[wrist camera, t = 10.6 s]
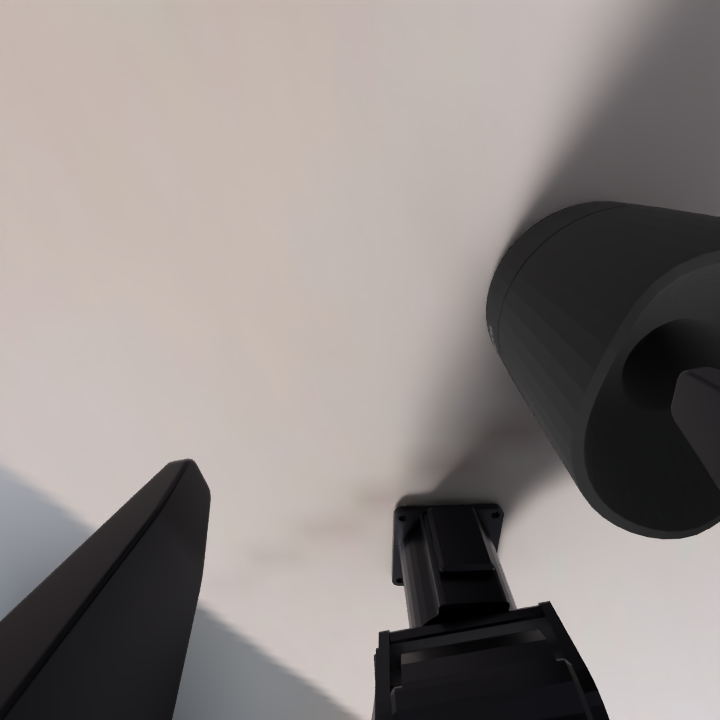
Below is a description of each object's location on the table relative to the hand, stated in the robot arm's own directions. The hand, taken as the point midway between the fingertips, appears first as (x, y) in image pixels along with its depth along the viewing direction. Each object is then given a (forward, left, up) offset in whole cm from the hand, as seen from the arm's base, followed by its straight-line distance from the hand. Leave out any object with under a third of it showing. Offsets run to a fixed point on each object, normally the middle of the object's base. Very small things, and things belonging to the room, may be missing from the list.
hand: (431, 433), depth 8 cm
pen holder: (-2, -9, -13) cm, 16 cm away
